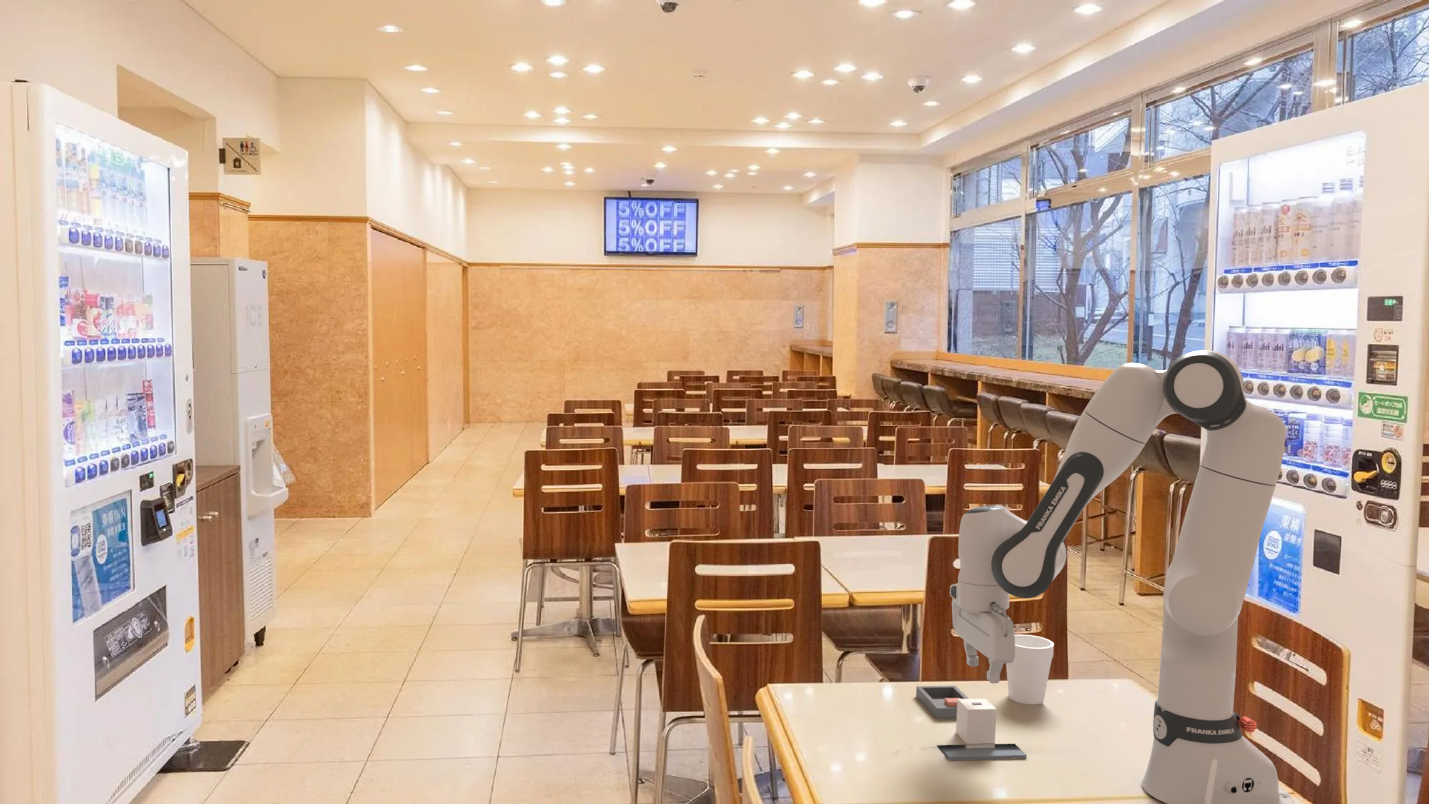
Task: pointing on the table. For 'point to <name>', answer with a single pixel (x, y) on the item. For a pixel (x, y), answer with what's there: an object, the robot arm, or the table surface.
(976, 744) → the block
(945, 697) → the power strip
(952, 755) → the rubber mat
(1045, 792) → the table surface
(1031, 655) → the foam cup
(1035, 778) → the table surface
